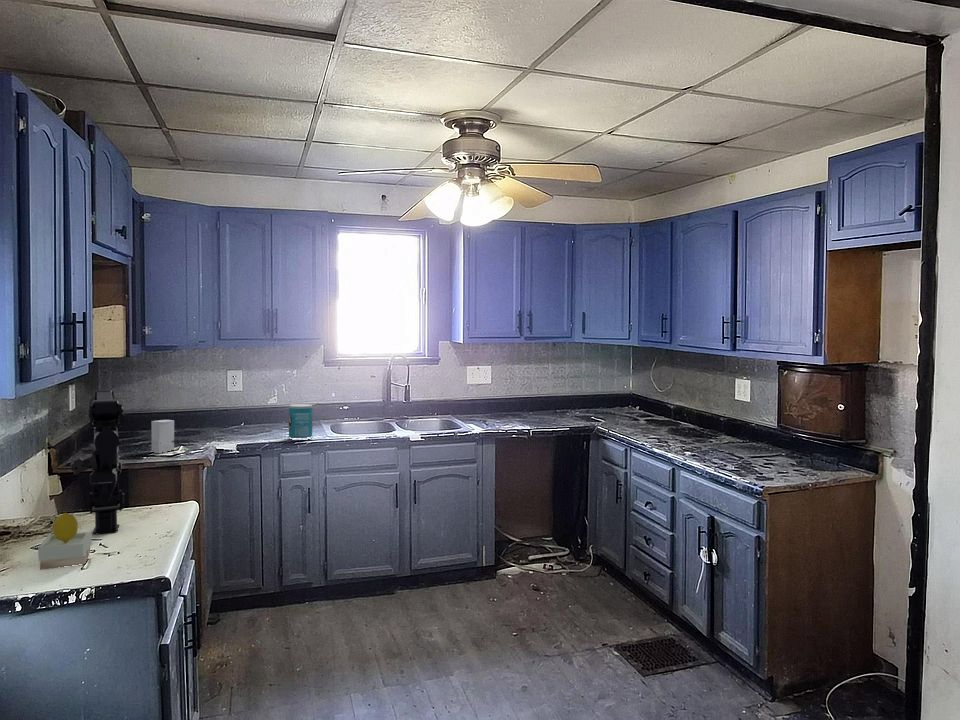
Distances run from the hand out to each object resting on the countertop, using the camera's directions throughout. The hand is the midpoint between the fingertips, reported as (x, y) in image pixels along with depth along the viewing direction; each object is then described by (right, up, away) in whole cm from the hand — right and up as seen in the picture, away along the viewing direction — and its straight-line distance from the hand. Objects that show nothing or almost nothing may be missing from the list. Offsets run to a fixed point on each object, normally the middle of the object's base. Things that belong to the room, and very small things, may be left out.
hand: (106, 500), depth 189 cm
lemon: (-5, -9, -10) cm, 15 cm away
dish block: (-5, -11, -10) cm, 16 cm away
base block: (-5, -14, -10) cm, 18 cm away
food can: (+9, -3, +168) cm, 169 cm away
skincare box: (-44, -4, +128) cm, 136 cm away
